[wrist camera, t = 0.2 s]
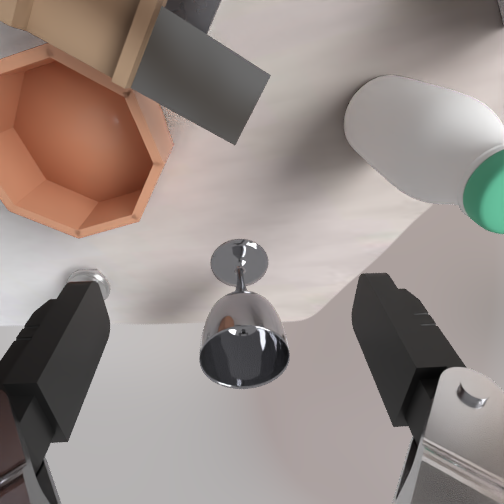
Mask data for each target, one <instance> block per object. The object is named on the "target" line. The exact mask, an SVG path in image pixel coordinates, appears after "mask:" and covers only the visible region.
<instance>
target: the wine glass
mask: <svg viewBox="0 0 504 504" xmlns="http://www.w3.org/2000/svg"><path fill="white" fill-rule="evenodd" d="M267 268H268V257H267V254H266V252H265V251H264V249H263V248H262V247H261V246H260V245H258V244H257V243H255V242H252V241H250V240H245V239H235V240H231V241H228V242H225V243H224V244H222V245H220V246H219V247H218V248H217V249H216V250H215V252H214V253H213V255H212V259H211V269H212V271H213V273H214V275H215V276H216V277H217V279H218V280H220V281H221V282H223V283H225V284H227V285H230V286H234V287H236V290H235V292H232V293H229V294H227V295H225V296H224V297H222V298H221V299H219V300H218V301H217V302H216V303H215V304H214V306H213V307H212V309H211V311H210V312H209V315H208V317H207V319H206V322H205V326H204V329H203V333H202V339H201V345H200V366H201V368H202V371H203V372H204V374H205V375H206V376H207V377H208V378H209V379H210V380H212V381H213V382H215V383H217V384H220V385H222V386H225V387H229V388H235V389H248V388H255V387H259V386H262V385H265V384H268V383H270V382H272V381H273V380H275V379H276V378H278V377H279V376H280V375H281V374H282V373H283V372H284V371H285V369H286V367H287V365H288V363H289V347H288V342H287V338H286V334H285V331H284V327H283V324H282V322H281V319H280V317H279V315H278V314H277V312H276V310H275V308H274V307H273V305H272V304H271V303H270V302H269V301H268V300H267V299H266V298H265V297H263V296H261V295H259V294H257V293H254V292H251V291H247V289H246V286H248V285H251V284H254V283H255V282H257V281H258V280H260V279H261V278H262V277H263V276H264V274H265V273H266V271H267Z"/></svg>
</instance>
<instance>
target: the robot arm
mask: <svg viewBox="0 0 504 504" xmlns="http://www.w3.org/2000/svg"><path fill="white" fill-rule="evenodd" d="M352 325H353V329H354V332H355V334H356V337H357V339H358V341H359V343H360V346H361V349H362V351H363V354H364V356H365V359H366V361H367V363H368V366H369V368H370V371H371V373H372V376H373V378H374V380H375V383H376V385H377V388H378V390H379V393H380V395H381V398H382V400H383V402H384V405H385V407H386V410H387V412H388V415H389V417H390V419H391V422H392V425H393V426H394V427H398V426H409V428H410V430H411V433H412V435H413V437H412V439H411V442H410V445H409V448H408V452H407V455H406V458H405V462H404V465H403V468H402V472H401V475H400V479H399V482H398V485H397V489H396V492H395V496H394V499H393V502H392V504H504V392H503V390H502V389H501V388H500V387H499V386H498V385H497V384H496V383H495V382H494V381H493V380H491V379H490V378H488V377H487V376H485V375H484V374H482V373H480V372H477V371H475V370H472V369H469V368H466V366H465V365H464V363H463V362H462V361H461V359H460V358H459V356H458V355H457V354H456V352H455V351H454V349H453V348H452V346H451V345H450V343H449V342H448V340H447V339H446V338H445V336H444V335H443V333H442V332H441V330H440V329H439V327H438V326H436V323H435V322H434V320H433V319H432V317H431V316H430V315H428V312H427V310H426V309H425V307H424V306H423V304H422V303H421V301H420V300H419V299H418V298H416V297H415V296H414V295H412V294H411V293H410V292H408V291H407V290H406V289H398V288H397V287H396V285H395V284H394V282H393V280H392V279H391V278H390V276H389V275H388V274H387V273H366V274H361V275H360V277H359V280H358V285H357V289H356V294H355V299H354V304H353V308H352ZM109 333H110V320H109V316H108V313H107V309H106V306H105V303H104V299H103V296H102V293H101V289H100V286H99V284H98V283H97V282H96V281H78V282H68V283H67V284H66V285H65V287H64V288H63V290H62V291H61V293H60V295H59V296H58V298H57V299H50V300H48V301H47V302H46V303H45V304H43V305H42V306H41V307H40V308H38V309H37V310H36V311H35V312H34V313H33V314H32V316H31V317H30V319H29V320H28V322H27V323H26V324H25V328H24V329H22V330H21V332H20V333H19V335H18V336H17V337H16V341H14V342H13V343H12V345H11V346H10V348H9V349H8V351H7V352H6V353H5V355H4V356H3V358H2V359H1V361H0V504H61V501H60V498H59V495H58V493H57V489H56V486H55V483H54V481H53V478H52V475H51V472H50V469H49V466H48V463H47V460H46V458H45V454H46V452H47V450H48V447H49V445H50V443H54V442H68V440H69V438H70V435H71V432H72V430H73V427H74V425H75V422H76V420H77V417H78V415H79V412H80V410H81V407H82V404H83V402H84V399H85V397H86V394H87V392H88V389H89V387H90V384H91V381H92V379H93V376H94V374H95V371H96V369H97V366H98V364H99V361H100V358H101V356H102V353H103V351H104V348H105V345H106V343H107V341H108V337H109Z"/></svg>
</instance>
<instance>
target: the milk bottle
mask: <svg viewBox="0 0 504 504" xmlns="http://www.w3.org/2000/svg"><path fill="white" fill-rule="evenodd" d="M344 132H345V136H346V138H347V141H348V143H349V144H350V145H351V147H352V148H353V149H354V150H355V151H356V152H357V153H358V154H359V155H360V156H361V157H362V158H363V159H364V160H365V161H367V162H368V163H369V164H370V165H371V166H372V167H373V168H374V169H375V170H376V171H377V172H379V173H380V174H381V175H382V176H383V177H384V178H385V179H386V180H387V181H389V182H390V183H391V184H392V185H393V186H395V187H396V188H397V189H399V190H400V191H401V192H403V193H405V194H406V195H408V196H410V197H412V198H414V199H417V200H420V201H423V202H427V203H433V204H454V205H458V206H459V208H460V210H461V211H462V212H463V213H464V214H465V215H467V216H468V217H470V218H471V219H472V220H473V221H474V222H476V223H477V224H478V225H480V226H481V227H483V228H484V229H486V230H488V231H491V232H495V233H499V234H504V126H503V124H502V122H501V121H500V119H499V118H498V117H497V115H496V114H495V113H494V112H493V111H492V110H491V109H490V108H489V107H488V106H487V105H485V104H484V103H483V102H481V101H479V100H477V99H476V98H474V97H472V96H469V95H466V94H463V93H461V92H458V91H455V90H452V89H448V88H445V87H441V86H438V85H434V84H430V83H426V82H423V81H419V80H415V79H411V78H407V77H403V76H397V75H385V76H380V77H377V78H375V79H373V80H371V81H369V82H368V83H366V84H365V85H363V86H362V87H361V88H360V89H359V90H358V91H357V92H356V93H355V95H354V96H353V98H352V99H351V101H350V103H349V105H348V107H347V110H346V113H345V117H344Z"/></svg>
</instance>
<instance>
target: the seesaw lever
mask: <svg viewBox="0 0 504 504" xmlns="http://www.w3.org/2000/svg"><path fill="white" fill-rule="evenodd" d="M166 3H167V0H0V21H2V22H3V23H5V24H7V25H9V26H11V27H14V28H18V29H21V30H25V31H27V32H29V33H31V34H33V35H35V36H37V37H38V38H40V39H42V40H44V41H46V42H48V43H49V44H51V45H53V46H55V47H57V48H58V49H60V50H62V51H64V52H66V53H68V54H69V55H71V56H73V57H75V58H77V59H79V60H80V61H82V62H84V63H86V64H88V65H89V66H91V67H93V68H95V69H97V70H99V71H100V72H102V73H104V74H106V75H108V76H110V77H111V78H112V82H113V83H115V84H117V85H119V86H121V87H123V88H124V89H127V88H131V89H133V90H135V91H137V92H139V93H141V94H142V95H144V96H146V97H148V98H150V99H151V100H153V101H155V102H157V103H159V104H161V105H162V106H164V107H166V108H168V109H170V110H172V111H173V112H175V113H177V114H179V115H181V116H182V117H184V118H186V119H188V120H190V121H192V122H193V123H195V124H197V125H199V126H201V127H203V128H204V129H206V130H208V131H210V132H212V133H213V134H215V135H217V136H219V137H221V138H223V139H224V140H226V141H228V142H230V143H232V144H234V145H235V144H236V142H237V141H238V139H239V137H240V135H241V133H242V131H243V129H244V127H245V125H246V123H247V121H248V119H249V117H250V115H251V113H252V111H253V109H254V107H255V105H256V103H257V101H258V99H259V97H260V96H261V94H262V92H263V90H264V88H265V86H266V84H267V82H268V80H269V78H270V76H271V75H269V74H268V73H266V72H265V71H263V70H261V69H260V68H258V67H257V66H255V65H254V64H252V63H251V62H249V61H247V60H246V59H244V58H243V57H241V56H240V55H238V54H237V53H235V52H233V51H232V50H230V49H229V48H227V47H226V46H224V45H222V44H221V43H219V42H218V41H216V40H215V39H213V38H212V37H210V36H208V35H207V34H205V33H204V32H202V31H201V30H199V29H198V28H196V27H194V26H193V25H191V24H190V23H188V22H187V21H185V20H184V19H182V18H180V17H179V16H177V15H176V14H174V13H173V12H171V11H170V10H168V9H166V8H165V5H166Z"/></svg>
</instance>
